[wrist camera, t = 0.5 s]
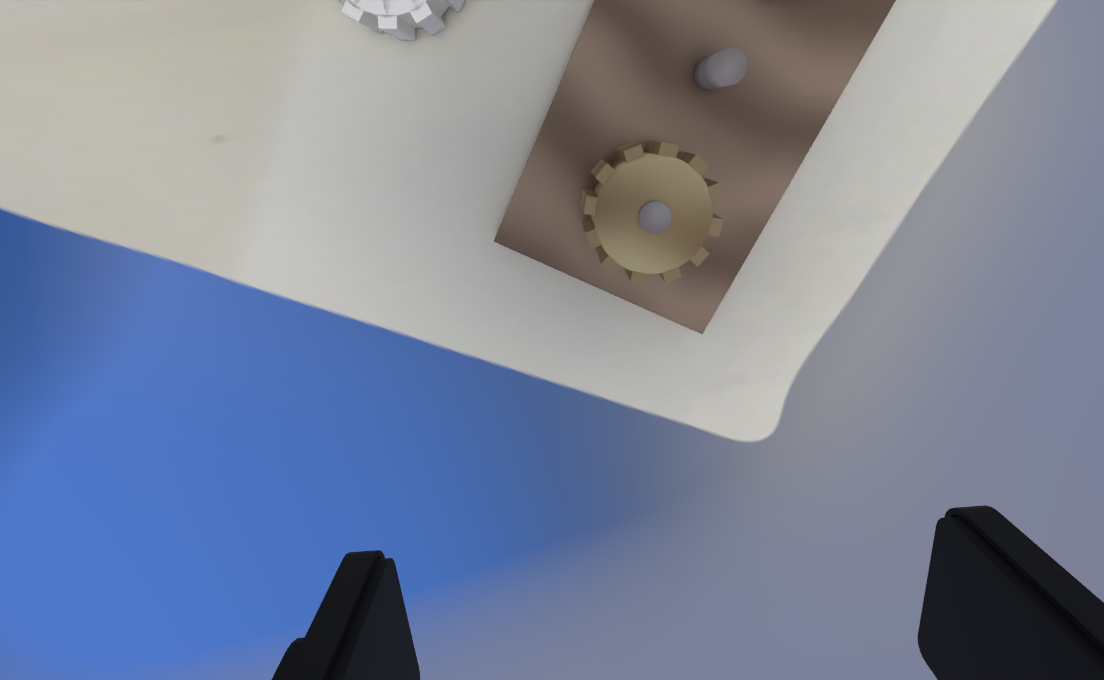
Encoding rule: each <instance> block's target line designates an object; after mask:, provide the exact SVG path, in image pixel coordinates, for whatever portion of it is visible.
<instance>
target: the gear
mask: <svg viewBox="0 0 1104 680" xmlns="http://www.w3.org/2000/svg"><path fill="white" fill-rule="evenodd" d="M337 1H338V2H340V3H342V4H344V6H343V8H342V12H344V13H345V14H347V15H348V16H350V17H352V18H353V19H355V20H356V21H358V22H360V23H361V24H363V25H365V26H367V27H369V28H371V29H373V30H375V31H377V32H379V33H380V34H382V33H383V31H384V32H386V33H388V34H390V35H391V36H393V37H395V38H397V39H399V40H416V34H415V29H416V28H419V27H422V28H423V29H424V30H426V31H427V32H429V33H430V34H431V35H434V34H436V33H438V32H439V31H441V30H442V29H444V28H445V27H447V26H446V24H445V23H444V21H443V19H442V17H441V16H442V15H443V14H444V12H445V11H446V10H447V9H448V8H449V7H451V8H453V9H454V10H456V11H457V12H460V10H461V8H462V5H463V3H464V1H465V0H337Z"/></svg>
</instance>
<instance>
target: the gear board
mask: <svg viewBox="0 0 1104 680" xmlns="http://www.w3.org/2000/svg"><path fill="white" fill-rule="evenodd" d="M895 1H896V0H595V2H594V4H593V6H592V9H591V11H590V13H589V16H588V18H587V21H586V23H585V25H584V28H583V30H582V32H581V35H580V37H579V40H578V42H577V44H576V47H575V49H574V52H573V54H572V56H571V59H570V61H569V63H568V66H567V68H566V71H565V73H564V75H563V78H562V80H561V82H560V85H559V87H558V90H557V92H556V94H555V97H554V99H553V102H552V104H551V106H550V109H549V111H548V113H547V116H546V118H545V121H544V123H543V125H542V128H541V130H540V133H539V135H538V137H537V140H536V142H535V144H534V147H533V149H532V152H531V154H530V156H529V159H528V161H527V163H526V166H525V168H524V171H523V173H522V175H521V178H520V180H519V183H518V185H517V187H516V190H515V192H514V194H513V197H512V199H511V202H510V204H509V206H508V209H507V211H506V213H505V216H504V218H503V221H502V223H501V225H500V228H499V230H498V233H497V235H496V237H495V240H494V242H496V243H499V244H501V245H503V246H505V247H508V248H510V249H512V250H514V251H517V252H519V253H521V254H523V255H526V256H528V257H530V258H532V259H535V260H537V261H539V262H541V263H544V264H546V265H548V266H550V267H553V268H555V269H557V270H559V271H562V272H564V273H566V274H568V275H570V276H573V277H575V278H577V279H579V280H582V281H584V282H586V283H588V284H591V285H593V286H595V287H597V288H600V289H602V290H604V291H606V292H609V293H611V294H613V295H615V296H618V297H620V298H622V299H624V300H627V301H629V302H631V303H633V304H636V305H638V306H640V307H642V308H645V309H647V310H649V311H651V312H654V313H656V314H658V315H660V316H663V317H665V318H667V319H669V320H672V321H674V322H676V323H678V324H680V325H683V326H685V327H687V328H689V329H692V330H694V331H696V332H698V333H701V334H703V332H704V330H705V329H706V327H707V325H708V324H709V322H710V320H711V318H712V317H713V315H714V313H715V311H716V310H717V308H718V306H719V305H720V303H721V301H722V299H723V298H724V296H725V294H726V292H727V291H728V289H729V287H730V286H731V284H732V282H733V280H734V279H735V277H736V275H737V273H738V272H739V270H740V268H741V267H742V265H743V263H744V261H745V260H746V258H747V256H748V254H749V253H750V251H751V249H752V248H753V246H754V244H755V242H756V241H757V239H758V237H759V235H760V234H761V232H762V230H763V229H764V227H765V225H766V223H767V222H768V220H769V218H770V216H771V215H772V213H773V211H774V210H775V208H776V206H777V204H778V203H779V201H780V199H781V198H782V196H783V194H784V192H785V191H786V189H787V187H788V185H789V184H790V182H791V180H792V179H793V177H794V175H795V173H796V172H797V170H798V168H799V166H800V165H801V163H802V161H803V160H804V158H805V156H806V154H807V153H808V151H809V149H810V147H811V146H812V144H813V142H814V141H815V139H816V137H817V135H818V134H819V132H820V130H821V128H822V127H823V125H824V123H825V122H826V120H827V118H828V116H829V115H830V113H831V111H832V109H833V108H834V106H835V104H836V103H837V101H838V99H839V97H840V96H841V94H842V92H843V90H844V89H845V87H846V85H847V84H848V82H849V80H850V78H851V77H852V75H853V73H854V71H855V70H856V68H857V66H858V65H859V63H860V61H861V59H862V58H863V56H864V54H865V52H866V51H867V49H868V47H869V46H870V44H871V42H872V40H873V39H874V37H875V35H876V33H877V32H878V30H879V28H880V27H881V25H882V23H883V21H884V20H885V18H886V16H887V14H888V13H889V11H890V9H891V8H892V6H893V4H894V2H895Z"/></svg>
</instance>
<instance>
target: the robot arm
mask: <svg viewBox="0 0 1104 680" xmlns="http://www.w3.org/2000/svg"><path fill="white" fill-rule="evenodd" d="M918 645H919V648H920V652H921V654H922V657H923V658H924V660H925V662H926V663H927V665H928V666H929V668H930V669H931V671H932V672H933V673H934V675H935V676H936V678H937V679H938V680H1104V603H1103V602H1102V601H1101V600H1100V599H1099V598H1097V597H1096V596H1095V595H1094V594H1093V593H1092V592H1091V591H1089V590H1088V589H1087V588H1086V587H1085V586H1084V585H1082V584H1081V583H1080V582H1079V581H1078V580H1077V579H1075V578H1074V577H1073V576H1072V575H1071V574H1070V573H1069V572H1067V571H1066V570H1065V569H1064V568H1063V567H1062V566H1060V565H1059V564H1058V563H1057V562H1056V561H1055V560H1054V559H1052V558H1051V557H1050V556H1049V555H1048V554H1047V553H1045V552H1044V551H1043V550H1042V549H1041V548H1040V547H1038V546H1037V545H1036V544H1035V543H1034V542H1033V541H1031V540H1030V539H1029V538H1028V537H1027V536H1025V534H1023V533H1022V532H1021V531H1020V530H1019V529H1018V528H1017V527H1015V526H1014V525H1013V524H1012V523H1011V522H1010V521H1008V520H1007V519H1006V518H1005V517H1004V516H1003V515H1001V514H1000V513H999V512H998V511H997V510H995V509H994V508H992V507H989V506H973V507H960V508H952V509H949V510H948V511H947V512H946V514H945V517H944V518H941V519H939V520H938V522H937V525H936V530H935V536H934V542H933V548H932V555H931V561H930V566H929V572H928V578H927V584H926V590H925V596H924V602H923V608H922V614H921V620H920V626H919V632H918ZM272 680H420V671H419V666H418V662H417V657H416V653H415V649H414V644H413V640H412V635H411V632H410V627H409V622H408V618H407V614H406V610H405V605H404V601H403V596H402V592H401V588H400V583H399V579H398V575H397V570H396V566H395V562H394V560H393V559H392V558H388V559H385V557H384V554H383V553H382V551H378V550H377V551H363V552H351V553H347V554H346V555H345V557H344V558H343V560H342V562H341V564H340V566H339V568H338V570H337V572H336V574H335V576H334V579H333V580H332V582H331V585H330V587H329V589H328V591H327V593H326V595H325V597H324V599H323V601H322V603H321V605H320V607H319V609H318V611H317V613H316V615H315V617H314V620H313V622H312V624H311V626H310V628H309V630H308V632H307V634H306V636H305V638H297V639H296V640H295V641H293V643H291V645H290V646H289V648H288V649H287V651H286V652H285V654H284V656H283V658H282V661H281V662H280V664H279V666H278V668H277V670H276V672H275V674H274V676H273V679H272Z"/></svg>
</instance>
